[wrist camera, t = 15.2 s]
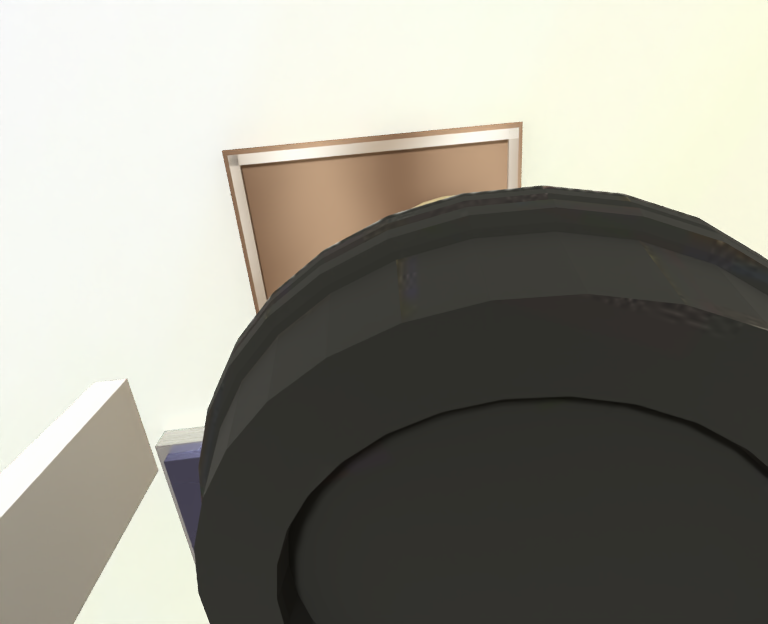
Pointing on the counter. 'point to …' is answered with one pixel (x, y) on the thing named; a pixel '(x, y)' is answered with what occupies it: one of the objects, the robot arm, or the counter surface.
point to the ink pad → (183, 475)
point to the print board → (353, 189)
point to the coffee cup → (497, 424)
